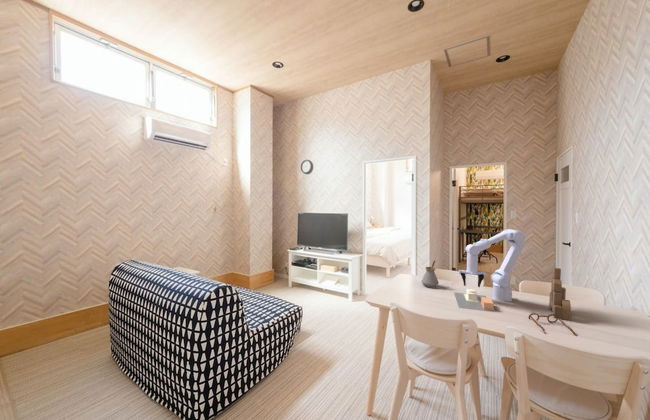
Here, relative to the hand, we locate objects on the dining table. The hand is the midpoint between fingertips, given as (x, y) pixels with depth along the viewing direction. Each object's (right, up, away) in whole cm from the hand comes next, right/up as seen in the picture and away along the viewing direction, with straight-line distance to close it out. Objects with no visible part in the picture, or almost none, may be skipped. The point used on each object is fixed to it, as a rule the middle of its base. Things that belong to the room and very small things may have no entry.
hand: (471, 286), depth 161 cm
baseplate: (-2, -9, -5) cm, 10 cm away
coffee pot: (-13, -7, +29) cm, 33 cm away
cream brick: (0, -7, 0) cm, 7 cm away
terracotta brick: (+2, -8, -12) cm, 15 cm away
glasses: (+20, -11, -34) cm, 41 cm away
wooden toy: (+36, -10, -20) cm, 42 cm away
